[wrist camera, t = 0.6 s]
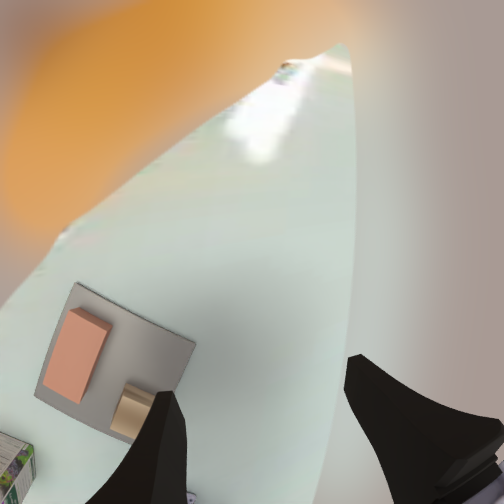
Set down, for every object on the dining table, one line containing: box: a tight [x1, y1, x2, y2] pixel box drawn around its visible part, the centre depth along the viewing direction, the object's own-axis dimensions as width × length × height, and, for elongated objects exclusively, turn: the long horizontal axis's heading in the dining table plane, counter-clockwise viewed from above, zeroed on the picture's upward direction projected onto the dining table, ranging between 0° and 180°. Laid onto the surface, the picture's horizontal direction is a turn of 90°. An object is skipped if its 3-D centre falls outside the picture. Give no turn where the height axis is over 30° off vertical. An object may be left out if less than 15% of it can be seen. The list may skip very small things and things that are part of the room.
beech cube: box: [110, 383, 155, 439], centre depth 26 cm, size 4×4×4 cm
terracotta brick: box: [43, 307, 113, 404], centre depth 25 cm, size 8×4×4 cm, turn 155°
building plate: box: [34, 283, 196, 445], centre depth 28 cm, size 14×14×1 cm
